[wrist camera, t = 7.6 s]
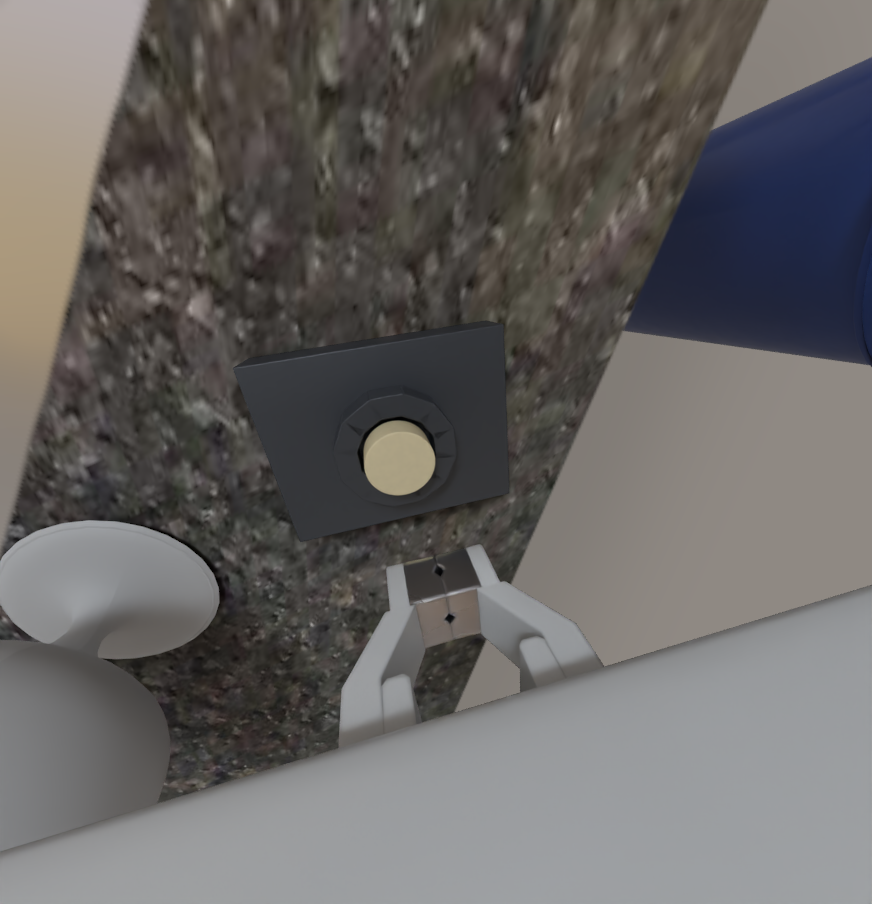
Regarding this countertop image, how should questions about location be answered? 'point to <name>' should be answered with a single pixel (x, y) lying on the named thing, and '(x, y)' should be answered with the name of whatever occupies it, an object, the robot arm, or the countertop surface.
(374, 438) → the push button switch
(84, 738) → the chalice
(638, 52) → the countertop surface
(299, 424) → the push button plate
